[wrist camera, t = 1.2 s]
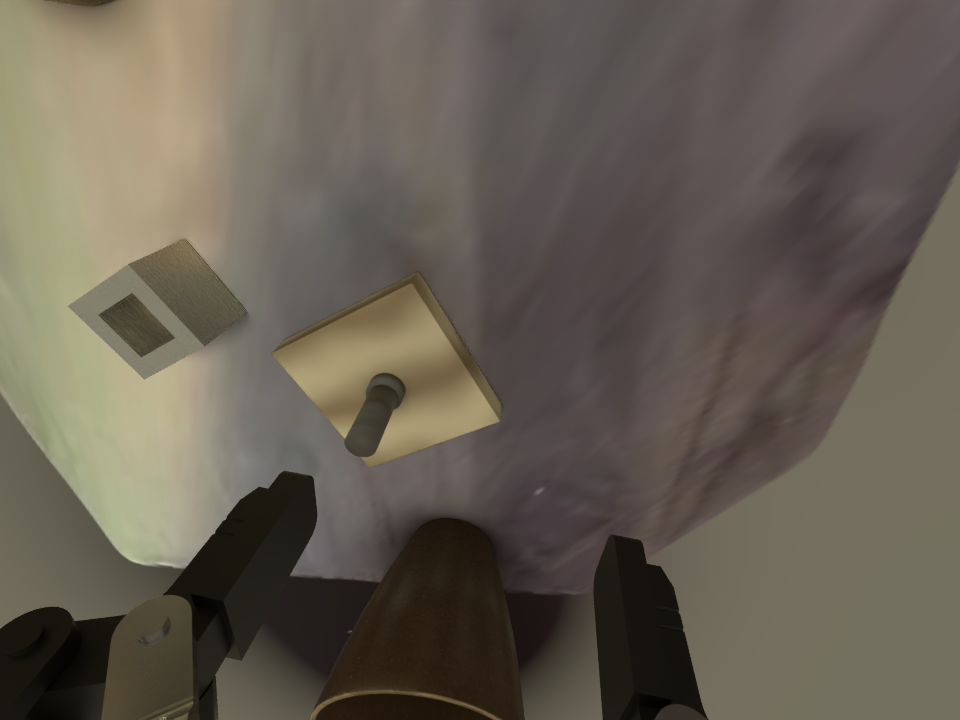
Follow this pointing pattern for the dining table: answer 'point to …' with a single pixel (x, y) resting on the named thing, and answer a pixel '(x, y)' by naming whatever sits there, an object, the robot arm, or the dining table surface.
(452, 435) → the post block
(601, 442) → the dining table surface
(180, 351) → the collar
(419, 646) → the plant pot
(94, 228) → the dining table surface
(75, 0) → the supplement bottle
